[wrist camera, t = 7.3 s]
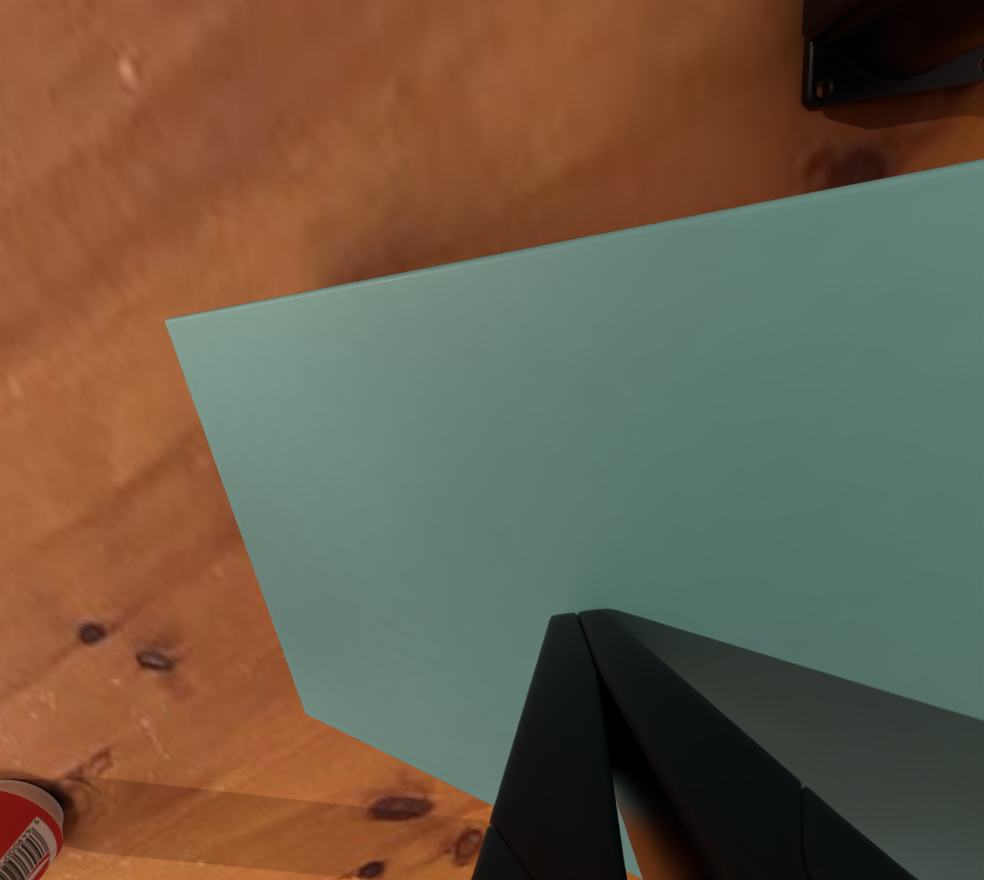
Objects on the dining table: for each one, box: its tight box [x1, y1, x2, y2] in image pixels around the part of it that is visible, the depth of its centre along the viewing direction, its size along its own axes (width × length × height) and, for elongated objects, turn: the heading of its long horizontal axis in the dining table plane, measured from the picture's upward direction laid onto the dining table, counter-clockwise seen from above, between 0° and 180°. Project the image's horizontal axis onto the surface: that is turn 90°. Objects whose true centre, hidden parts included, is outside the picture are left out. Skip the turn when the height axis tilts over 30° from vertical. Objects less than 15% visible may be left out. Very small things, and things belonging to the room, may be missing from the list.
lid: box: [166, 159, 984, 880], centre depth 9 cm, size 14×12×1 cm
